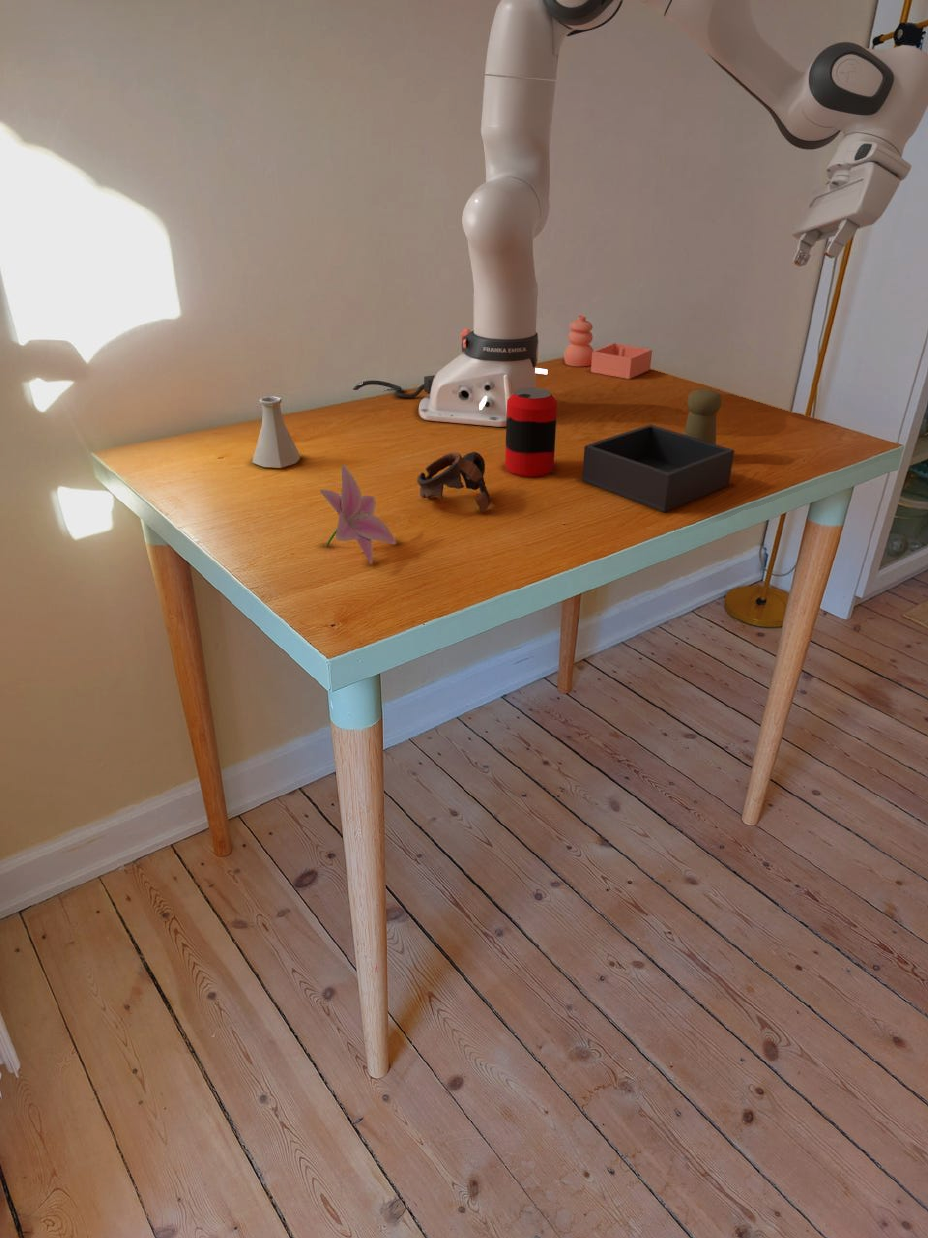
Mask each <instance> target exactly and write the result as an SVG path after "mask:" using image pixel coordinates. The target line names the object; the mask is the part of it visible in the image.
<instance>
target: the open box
mask: <svg viewBox="0 0 928 1238" xmlns="http://www.w3.org/2000/svg"><path fill="white" fill-rule="evenodd" d="M683 434H684V433H680V432H676V431H673V430H670V429H667V428H664V427H660V426H657V425H653V424H648V425H645V426H641V427H638V428H635V429H633V430H629V431H626V432H622V433H620V434H617V435H614V436H611V437H607V438H604V439H602V440H598V441H596V442H592V443H588V444H586V445H584V449H583V461H582V462H583V463H582V473H581V474H582V476H581V481H582V483H583V482H584V483H586V484H588V485H592V486H593V487H597V488H599V489H602V490H604V491H607V492H610V493H612V494H614V495H617V496H619V497H623V498H625V499H628V500H630V501H633V502H636V503H637V504H641V505H643V506H646V507H649V508H651V509H653V510H657V511H659V512H662V513H667V512H669V511H671V510H674V509H676V508H678V507H681V506H683V505H686V504H688V503H690V502H693V501H696V500H698V499H700V498H703V497H704V496H707V495H709V494H712V493H715V492H716V491H719V490H721V489H724V488H727V487H728V486H729V485H730V480H731V473H732V468H733V461H734V455H735V449H732V448H728V447H725V446H722V445H719V444H717V443H716V444H713V443H709V442H706V441H703V440H700V439H696V438H693V437H690V436H687V435H683Z"/></svg>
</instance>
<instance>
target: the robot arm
mask: <svg viewBox="0 0 928 1238" xmlns="http://www.w3.org/2000/svg"><path fill="white" fill-rule="evenodd" d="M640 1H641V2H643V3H645V4H647V5H648V6H650V7H651V8H652V9H653V10H655V11H656V12H657V13H658V14H660V15H661V16H662V17H665V18H666V20H668V21H670V22H671V24H673V25H674V26H676V27H677V28H678V29H680V31H682V32H683V33H684V34H686V35H687V36H688V37H689V38H690V39H692V40H693V41H694V42H695V43H696V44H697V45H698V46H700V48H702V50H704V52H705V53H706V54H707V55H708V56H709V57H710V58H711V59H712V60H713V61H714V62H715V64H717V65H718V66H719V67H720V68H721V69H722V70H723V71H724V72H725V73H726V74H727V75H728V76H729V77H731V79H733V80H734V81H735V82H736V83H738V85H739V86H740V87H742V89H744V90H745V91H746V92H747V93H748V94H749V95H750V96H752V97H753V98H754V99H755V100H756V101H757V102H758V103H760V105H762V106H763V107H764V108H765V109H766V111H767V112H768V113H769V114H770V116H771V117H772V118H773V120H774V123H775V124H776V126H777V129H778V130H779V131H780V133H781V135H782V136H783V138H784V139H785V140H786V141H787V142H788V143H789V144H790V145H792V146H794V147H796V148H798V149H800V150H808V151H809V150H817V149H820V148H823V147H826V146H828V145H829V144H831V143H832V142H833V141H834V140H835V139H836V138H837V137H838V136H839V135H840V133H841V132H842V133H843V136H842V139H841V140H840V142H839V144H838V146H837V148H836V150H835V152H834V154H833V156H832V157H831V160H830V162H829V164H828V166H827V168H826V175H827V177H828V178H829V180H830V181H827V182H826V183H825V184H824V185H822V186H820V187H817V188H816V189H815V190H814V191H813V192H812V194H811V195H810V196H809V198H808V199H807V201H806V202H805V204H804V206H803V207H802V209H801V211H800V213H799V214H798V216H797V218H796V220H795V221H794V224H793V226H792V227H791V231H790V232H791V236H792V237H793V238H795V239H797V240H798V241H797V246H796V252H795V254H794V256H793V258H792V263H793V264H794V265H795V266H797V267H803V266H806V265H807V264H808V261H809V260H810V258H811V256H812V255H811V254H810V253H811V250H812V247H814V246H815V244H816V242H820V241H822V240H826V239H829V238H831V241H828V242H827V245H826V246H825V248H824V250H823V255H824V256H825V257H827V258H829V259H835V258H838V257H839V256H840V254H841V253H842V251H843V249H844V247H845V246H846V245H847V244H848V243H849V242H850V240H851V239H852V238H853V237H854V236H855V235H856V233H857V232H858V230H860V229H862V228H866V227H870V226H872V225H874V224H875V223H876V222H878V220H879V219H880V218H881V217H882V216H883V214H884V213H885V212H886V210H887V209H888V206H889V205H890V203H891V201H892V199H893V198H894V196H895V195H896V192H897V191H898V189H899V186H900V184H901V181H904V180H905V179H906V178H907V177H908V175H909V173H910V171H911V169H912V165H911V163H910V162H908V161H907V160H905V159H904V158H903V154H904V149H905V147H906V144H907V143H908V141H909V140H910V139H911V137H912V136H913V135H914V134H915V133H916V131H917V130H918V127H919V126H920V124H921V121H922V120H923V117H924V115H925V113H926V111H927V109H928V54H927V52H925V51H924V50H923V49H920V48H918V47H916V46H913V45H905V44H904V45H903V44H902V45H899V46H895V47H892V48H886V49H875V48H867V47H863V46H862V45H860V44H858V43H855V42H850V41H841V42H837V43H833V44H831V45H828V46H827V47H826V48H824V49H823V50H822V51H821V52H820V53H819V54H817V56H816V57H815V58H814V59H813V61H812V62H811V63H810V64H809V66H808V67H807V68H806V70H805V71H801V70H799V69H797V68H795V67H794V66H793V65H792V64H791V62H789V61H788V60H787V59H786V58H785V57H783V55H781V54H780V53H779V52H778V51H777V50H776V49H775V48H773V46H771V44H769V42H767V41H766V40H765V39H764V37H762V35H761V34H760V32H759V31H758V29H757V27H756V25H755V21H754V18H753V17H754V16H753V12H752V1H751V0H640ZM623 2H624V0H500V1H499V3H498V4H497V6H496V8H495V12H494V15H493V20H492V23H491V28H490V33H489V39H488V43H487V44H488V45H487V51H486V59H485V69H484V74H485V75H484V83H483V97H482V110H481V121H480V122H481V124H480V135H481V138H482V142H483V149H484V162H485V182H484V183H482V184H481V185H479V186H478V187H477V188H475V189H474V191H473V192H472V193H471V195H470V196H469V198H468V199H467V202H466V203H465V205H464V207H463V211H462V215H461V216H462V218H461V222H462V223H461V224H462V229H463V233H464V235H465V237H466V240H467V247H468V248H467V249H468V255H469V256H468V257H469V261H470V268H471V275H472V282H473V283H472V284H473V285H472V286H473V329H472V331H471V330H470V329H468V328H465V329H463V330H462V331H461V334H460V340H461V352H462V353H460V354H459V355H458V356H456V357H455V358H454V359H452V360H451V361H450V362H448V363H447V364H446V365H444V366H443V367H442V368H440V369H439V370H438V371H437V373H436V374H435V375H426V376H424V377H423V384H421V385H420V386H419V387H417V389H416V390H415V391H414V392H411V393H401V392H402V390H403V388H402V386H400V385H397V384H394V383H392V382H387V381H381V380H372V379H371V380H366V381H362V382H363V384H362V385H358V384H356V385H355V386H353V388H352V390H353V391H358V390H359V389H360V388H361V389H362V388H363V387H365V386H371V385H373V386H374V385H376V386H382V387H387V388H390V389H394V390H395V391H394V396H396V397H397V398H400V399H413V398H415V397H417V396H418V395H420V393H421V392H422V391H423V392H425V393H427V394H428V395H426V396H425V397H423V398H421V400H420V402H419V404H418V405H419V406H418V415H419V416H420V418H422V419H423V420H425V421H432V422H443V423H453V424H463V425H464V424H465V425H474V426H476V425H477V426H486V427H497V428H498V427H499V428H506V417H507V400H508V399H509V398H510V396H511V395H512V394H513V393H514V391H515V390H517V389H521V388H538V386H537V374H540V375H548V369H546V368H539V367H536V366H537V365H538V358H539V342H540V341H539V334H538V333H537V315H538V314H537V313H538V294H539V293H538V291H539V287H538V281H537V278H536V270H535V269H536V268H535V260H534V239H535V238H537V237H538V236H539V235H540V234H541V233H542V231H543V230H544V228H545V226H546V224H547V222H548V219H549V216H550V207H551V205H550V204H551V203H550V191H551V189H550V186H551V185H550V184H551V153H550V152H551V150H550V149H551V148H550V147H551V145H550V144H551V129H552V121H553V112H554V111H553V110H554V102H555V93H556V83H557V82H556V81H557V72H558V62H559V55H560V51H561V48H562V44H563V42H564V40H565V38H566V37H571V36H575V35H577V34H582V33H585V32H589V31H594V30H597V29H599V28H601V27H603V26H605V25H606V24H607V23H609V22H610V21H611V20H612V19H613V18H614V17H615V16H616V15H617V13H618V12H619V10H620V9H621V6H622V4H623ZM555 80H556V81H555Z"/></svg>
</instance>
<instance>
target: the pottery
mask: <svg viewBox="0 0 928 1238" xmlns="http://www.w3.org/2000/svg"><path fill="white" fill-rule="evenodd" d="M569 329H570V330H571V331H570V332H569V333H568V336H567V339H568V342H569V343H570V344H568V345H567V347H566V348H565V349H564V353H563V358H564V364H566V365H568V366H570V367H590V372H591V373H594V374H600V375H605V376H612V377H616V378H621V379H627V380H631V379H633V378H635V377H637V376H639V375H642V374H643V373H645V372H648V371H650V370H651V363H652V357H653V356H652V355H653V349H651V348H645V347H639V346H633V345H627V344H621V343H616V342H614V343H611V344H609V345H606V346H603V347H601V348H598V349H595V350H594V348H593V347H592V346H591V343H592V342H593V338H594V336H593V334H592V332H591V331H592V330H593V324H592V323H591V322H590V321H588V320H587V316H586V315H578V316H577V320H574V321H572V322H570V325H569Z"/></svg>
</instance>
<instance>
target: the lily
mask: <svg viewBox="0 0 928 1238" xmlns="http://www.w3.org/2000/svg"><path fill="white" fill-rule="evenodd" d="M319 492H320V494H321V495H322V496H323V497H324V498H325V499H326V501H327V502H328V503H329V504H330V506H331V507H332V508H333V509H334V510H335V511H336V513H337V514H338V515H339V517H338V523H337V527H336V528H335V530H334V531H333V532H332V534H331V536H330V537H329V539H328V541H327V542H326V544H325V547H329V545H330V544H331V542H332V540H333V539H334V537H336V540H338V541H339V542H340V541H341V542H346V541H355V540H356V542H357V544H358V545H359V547H360V548H361V550H362V552H363V553H364V556H365V557H366V559H367V561H368V563H369V564H370V565H372V564H373V561H374V549H373V548H374V546H373V541H377V542H380V543H381V542H382V543H387V544H390V545H396V544H397V541H396V538H395V536H394V535H393V533H392V532H391V530H390V529H389V528H388V526H387V525H386V524H385V523H384V521H382V520H381V518H379V517H378V516H376V515H375V512H376V503H377V501H376V498H375V497H374V496H372V495H362V492H361V489H360V487H359V485H358V483H357V481H356V480H355V478H354V476H353V475H352V473H351V472H350V470H349V469H348V468H347V466H345V465H344V464H341V491H340V493H338V492H336V491H332V490H329V489H320V490H319Z"/></svg>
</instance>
